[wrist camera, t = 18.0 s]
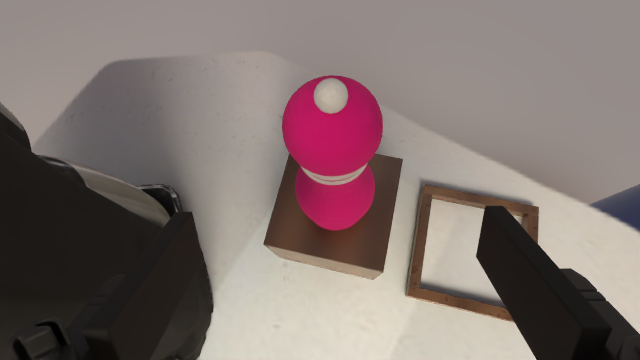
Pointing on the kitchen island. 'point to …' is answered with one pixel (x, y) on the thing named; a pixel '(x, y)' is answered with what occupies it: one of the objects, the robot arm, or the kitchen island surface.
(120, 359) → the robot arm
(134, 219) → the coffee maker
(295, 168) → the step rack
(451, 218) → the kitchen island surface
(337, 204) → the pepper mill
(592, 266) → the kitchen island surface
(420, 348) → the kitchen island surface
